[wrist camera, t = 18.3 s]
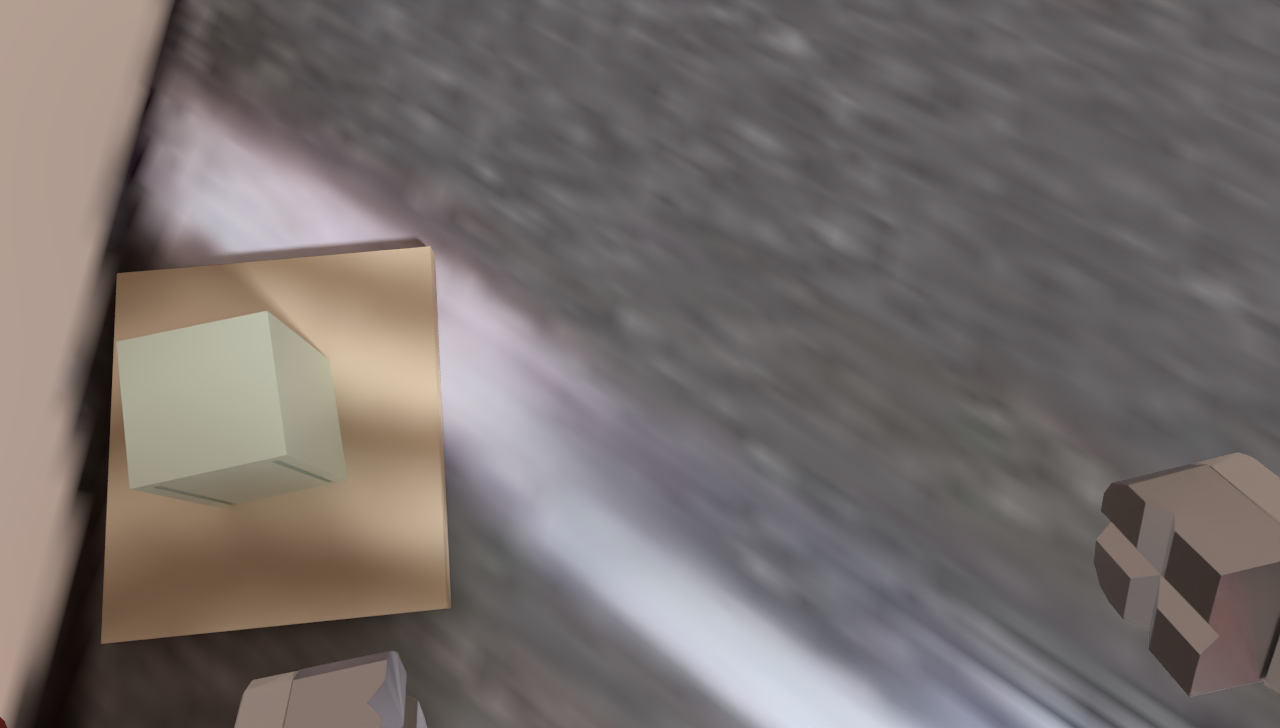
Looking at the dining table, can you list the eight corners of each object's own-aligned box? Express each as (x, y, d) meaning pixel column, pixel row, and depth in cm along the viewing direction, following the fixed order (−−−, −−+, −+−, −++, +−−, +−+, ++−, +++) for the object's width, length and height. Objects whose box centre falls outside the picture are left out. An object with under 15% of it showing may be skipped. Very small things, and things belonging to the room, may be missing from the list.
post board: (451, 608, 38) (420, 610, 33) (114, 642, 38) (21, 651, 32) (434, 254, 42) (404, 200, 36) (128, 280, 42) (48, 230, 36)
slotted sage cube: (347, 479, 39) (286, 454, 32) (219, 507, 38) (129, 488, 31) (329, 360, 40) (267, 310, 33) (205, 386, 40) (116, 341, 33)
